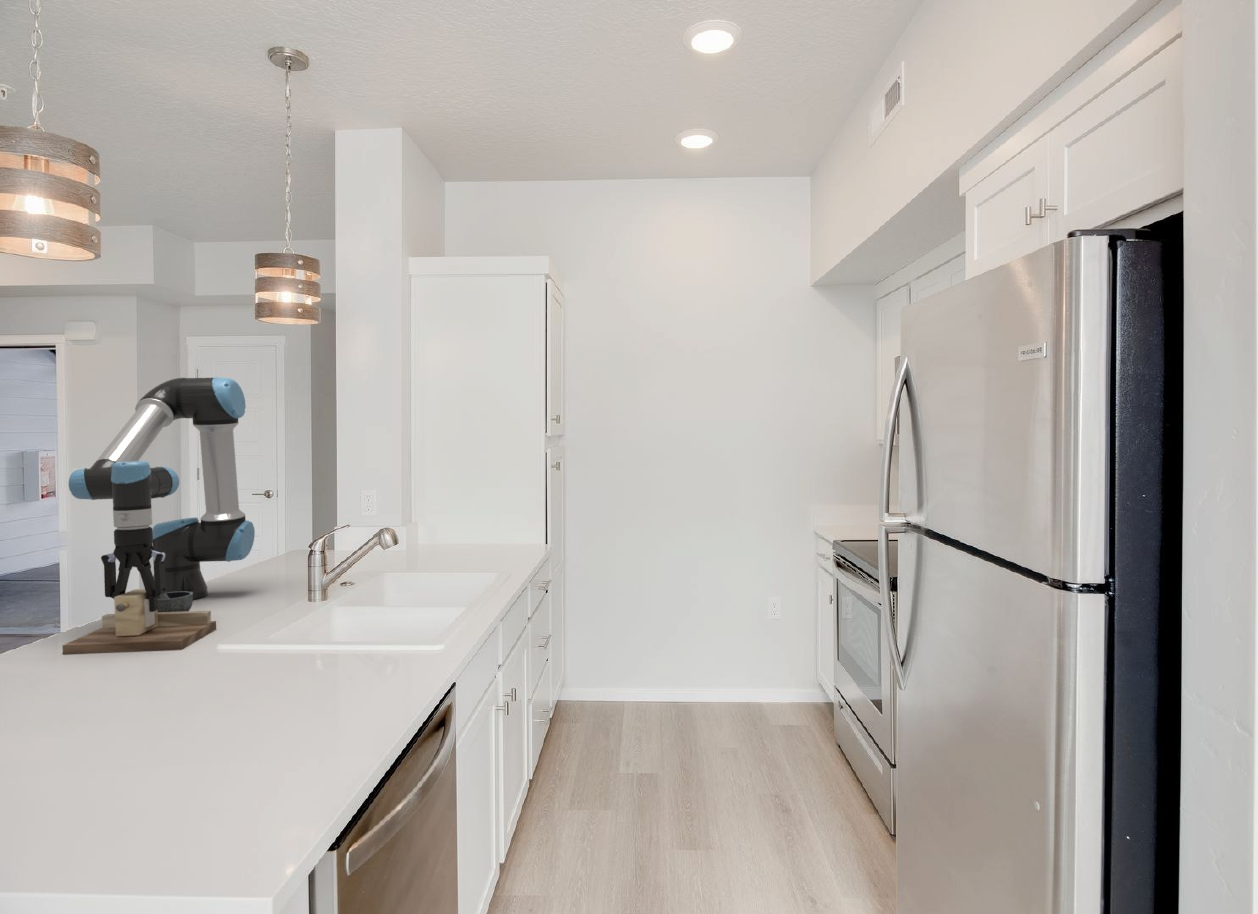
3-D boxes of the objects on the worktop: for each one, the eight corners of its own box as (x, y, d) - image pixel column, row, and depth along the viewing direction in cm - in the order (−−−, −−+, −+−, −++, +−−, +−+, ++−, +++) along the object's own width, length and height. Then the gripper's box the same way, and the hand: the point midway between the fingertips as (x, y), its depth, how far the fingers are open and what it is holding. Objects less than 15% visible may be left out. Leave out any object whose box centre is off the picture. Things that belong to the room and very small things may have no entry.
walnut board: (109, 633, 180) (108, 612, 180) (216, 629, 182) (215, 609, 182) (62, 654, 163) (61, 631, 163) (181, 649, 165) (180, 627, 165)
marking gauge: (140, 624, 179) (139, 587, 178) (162, 623, 179) (160, 587, 179) (109, 638, 166) (108, 599, 166) (133, 638, 167) (131, 598, 167)
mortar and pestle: (199, 616, 196) (198, 571, 195) (186, 625, 186) (185, 578, 186) (152, 619, 193) (150, 573, 193) (137, 628, 184) (135, 580, 183)
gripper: (81, 530, 167) (86, 631, 168) (165, 528, 169) (168, 628, 170) (102, 526, 175) (106, 623, 176) (182, 524, 176) (185, 620, 177)
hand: (137, 625), depth 173 cm, fingers closed on marking gauge, 5 cm apart
